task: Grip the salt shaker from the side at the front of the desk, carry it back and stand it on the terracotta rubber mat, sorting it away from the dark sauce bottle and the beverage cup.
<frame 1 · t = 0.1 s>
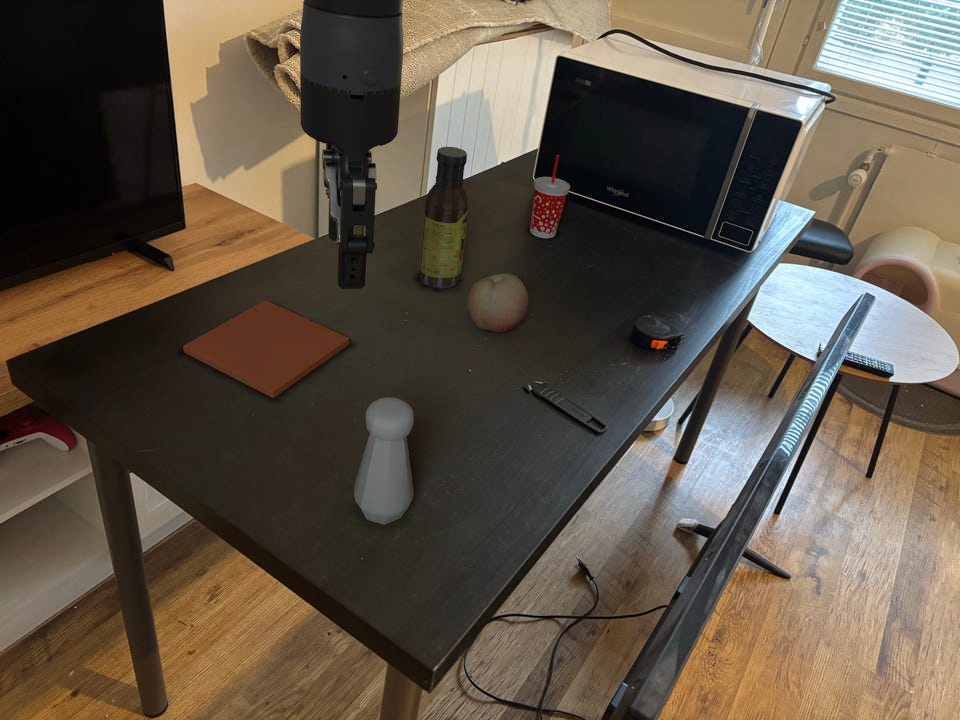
hand: (345, 261, 65), 23 cm above the table, tool pointing down, fingers open, 8 cm apart
sauce bottle: (438, 281, 111), on the table
beverage cup: (542, 233, 129), on the table
salt shaker: (382, 509, 73), on the table
fruit: (493, 328, 102), on the table
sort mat: (269, 348, 91), on the table
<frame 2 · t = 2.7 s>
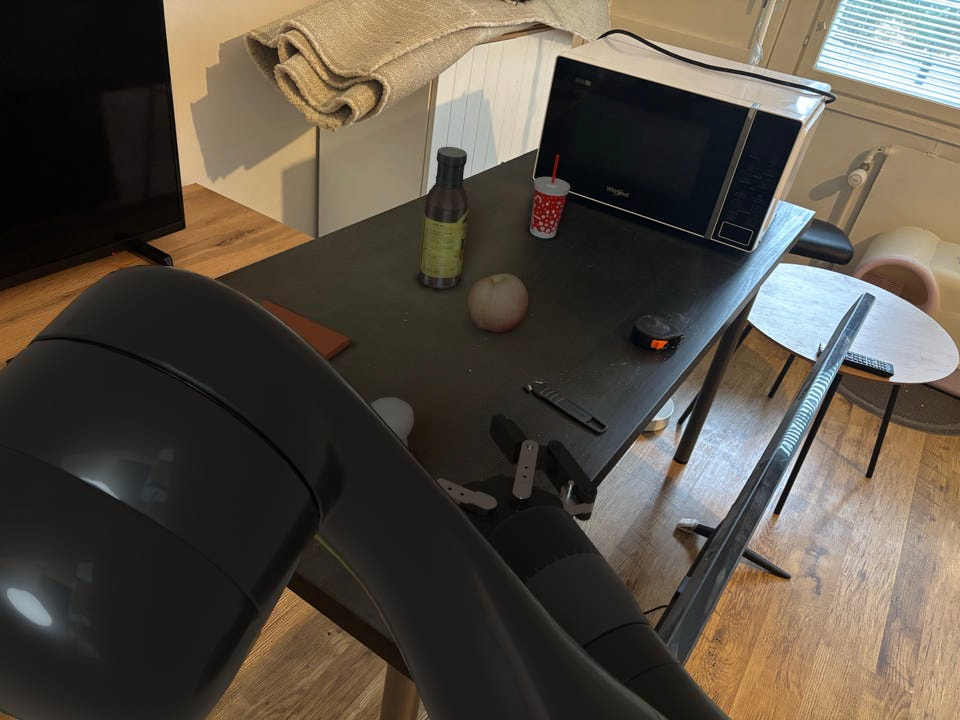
hand: (444, 435, 55), 18 cm above the table, tool horizontal, fingers open, 8 cm apart
nothing on the table moved.
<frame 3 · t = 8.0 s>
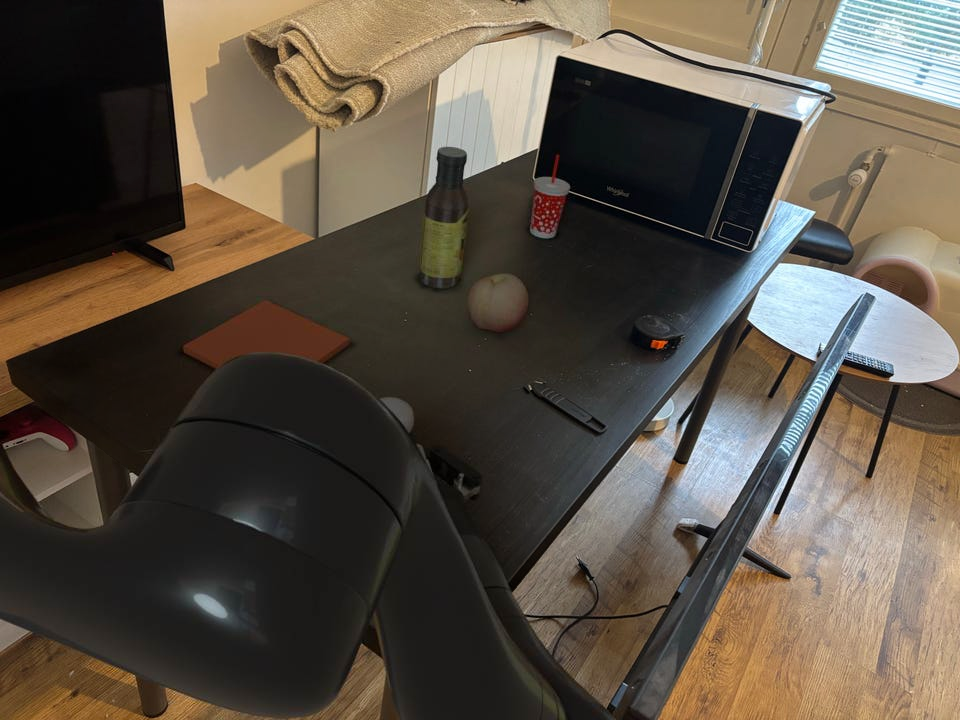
hand: (377, 432, 70), 8 cm above the table, tool horizontal, fingers closed on salt shaker, 3 cm apart
salt shaker: (382, 509, 73), on the table, touching gripper
everything else where it was.
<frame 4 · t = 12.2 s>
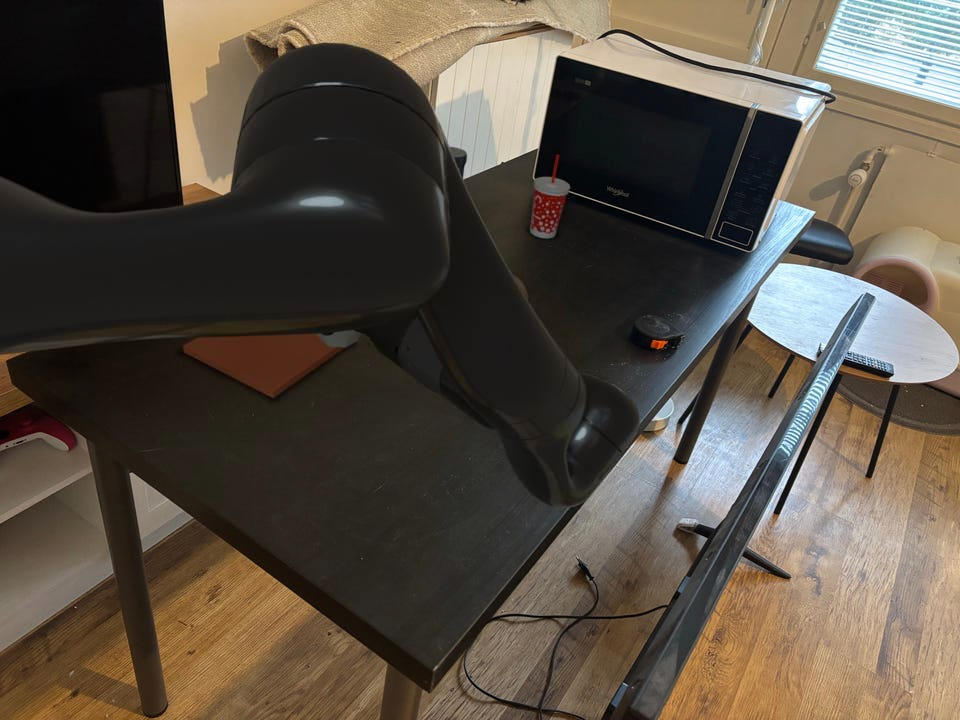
hand: (322, 262, 75), 18 cm above the table, tool horizontal, fingers closed on salt shaker, 3 cm apart
salt shaker: (338, 338, 78), point 10 cm above the table, touching gripper
everything else where it was.
when the fingers open (9 cm above the table, at t = 16.8 s): salt shaker stays where it is, resting on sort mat.
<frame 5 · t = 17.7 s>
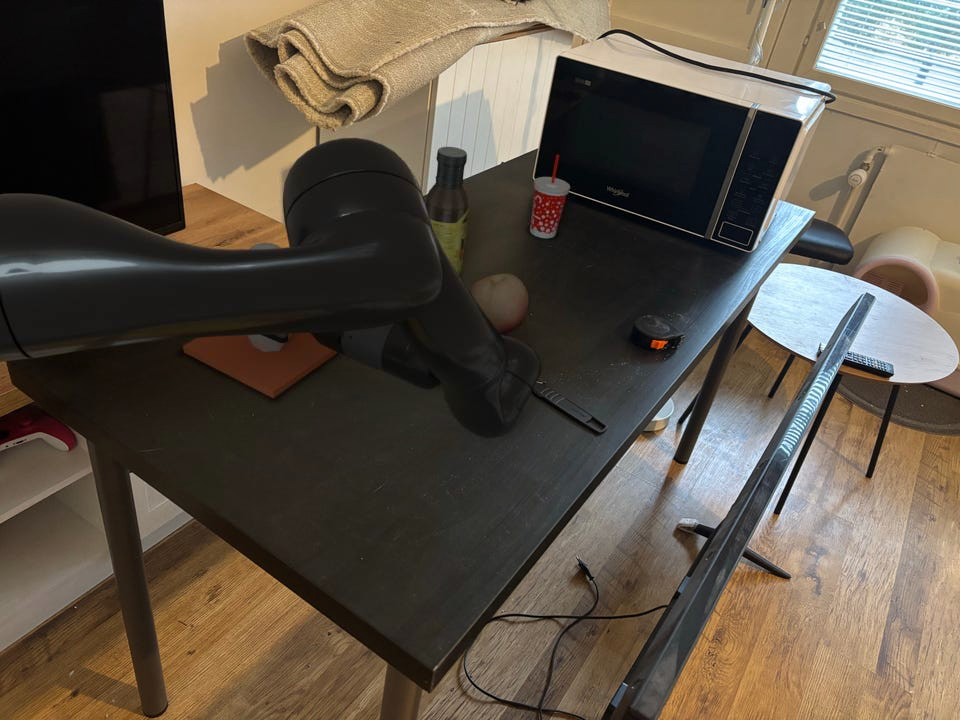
hand: (254, 277, 87), 9 cm above the table, tool horizontal, fingers open, 8 cm apart
salt shaker: (269, 343, 91), point 1 cm above the table, touching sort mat
everything else where it was.
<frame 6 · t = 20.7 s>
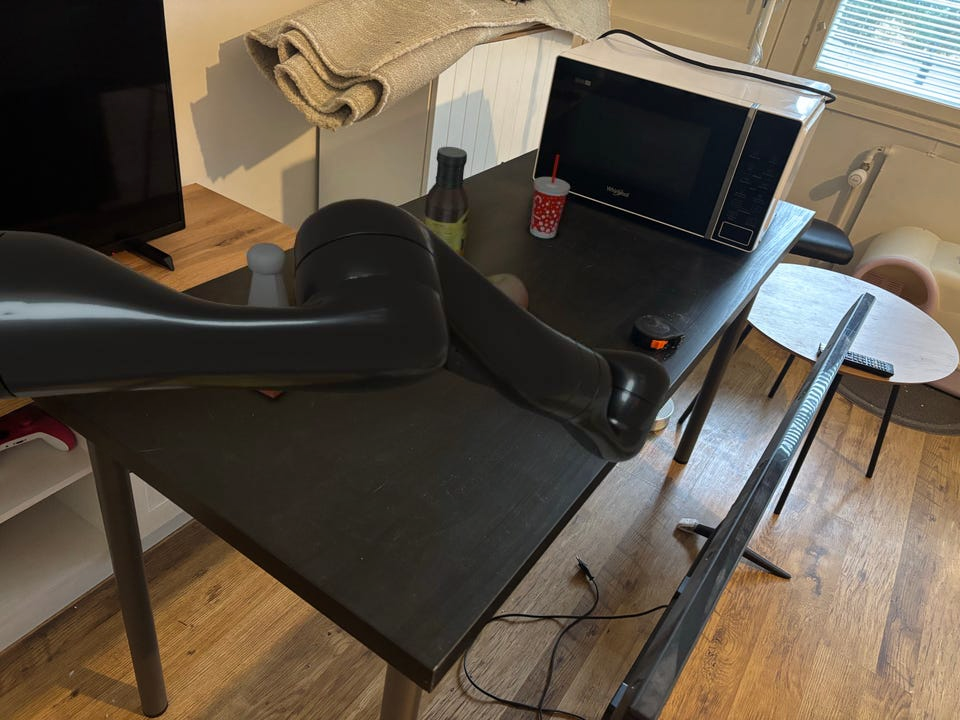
hand: (341, 284, 80), 14 cm above the table, tool horizontal, fingers open, 8 cm apart
nothing on the table moved.
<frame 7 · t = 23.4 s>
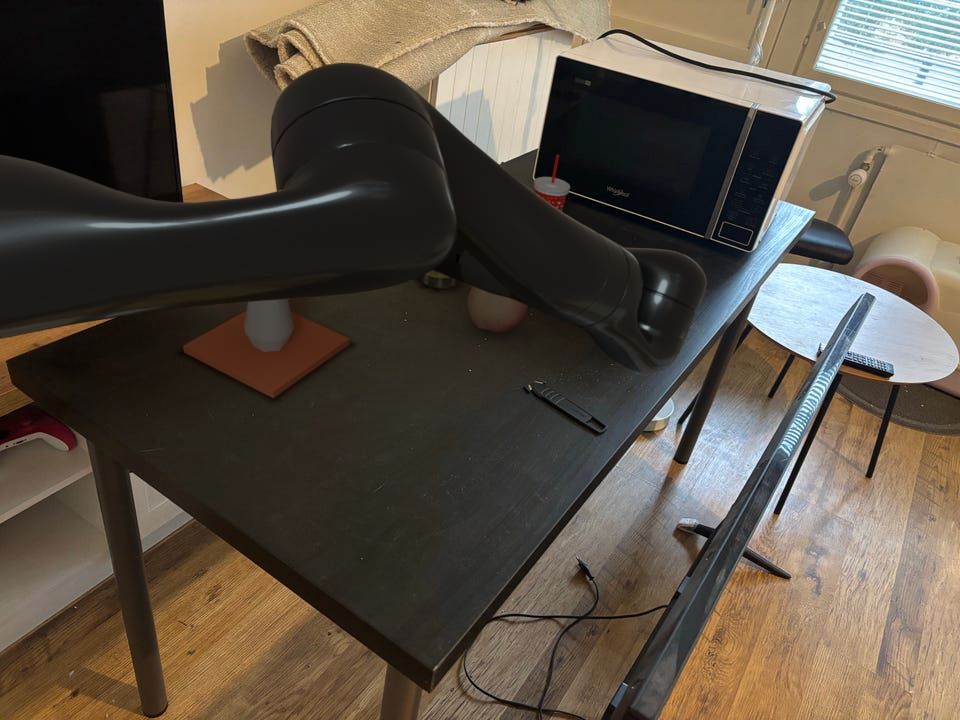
hand: (345, 194, 74), 24 cm above the table, tool horizontal, fingers open, 8 cm apart
nothing on the table moved.
at the end: salt shaker inside the target area on the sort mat (0.1 cm from its centre), point 0.8 cm above the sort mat's base; salt shaker tilted 0°; the gripper is holding nothing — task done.
